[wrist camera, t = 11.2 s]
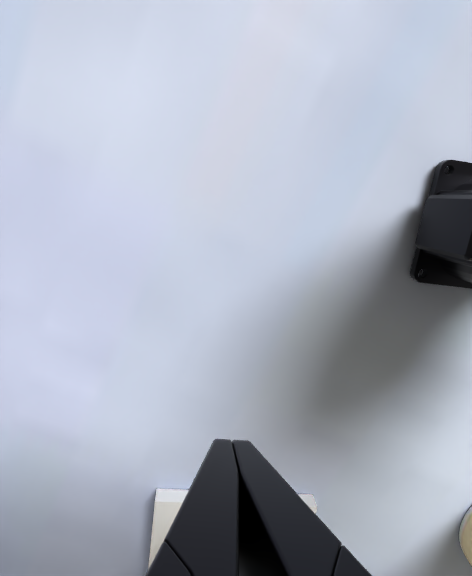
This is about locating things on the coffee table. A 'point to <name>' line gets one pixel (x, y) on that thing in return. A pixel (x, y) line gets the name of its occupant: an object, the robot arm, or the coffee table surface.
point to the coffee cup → (466, 535)
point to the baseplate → (169, 507)
